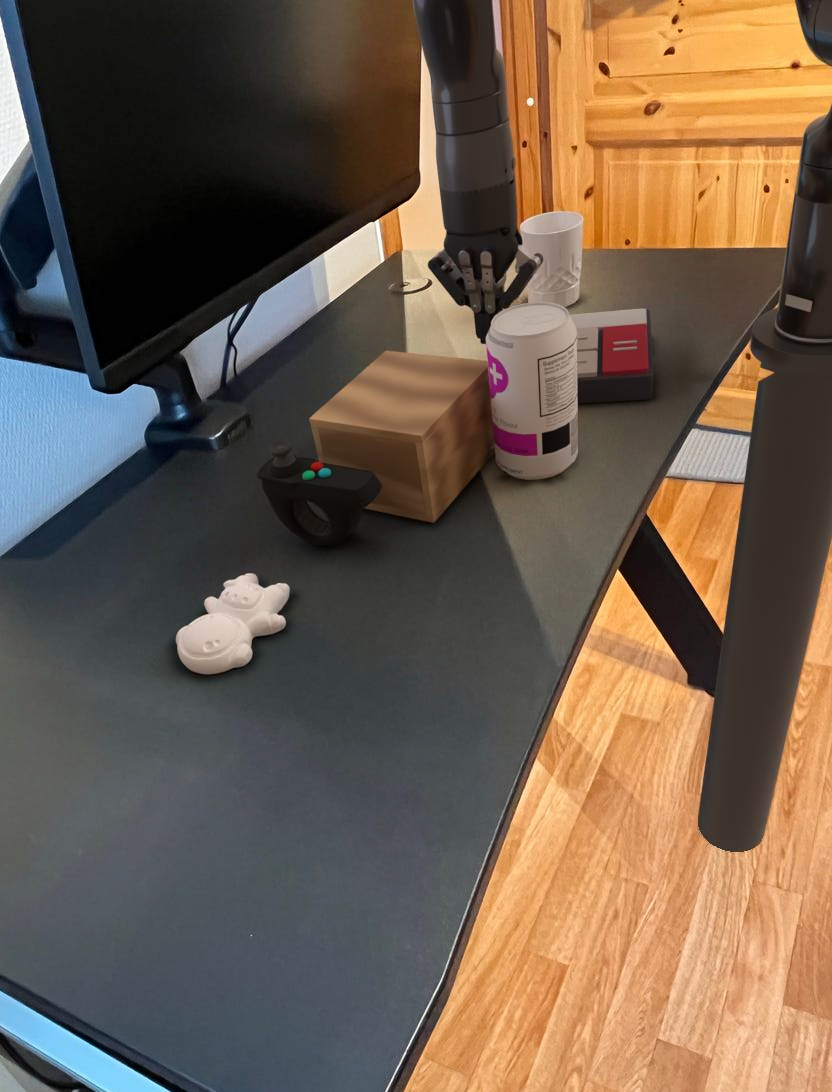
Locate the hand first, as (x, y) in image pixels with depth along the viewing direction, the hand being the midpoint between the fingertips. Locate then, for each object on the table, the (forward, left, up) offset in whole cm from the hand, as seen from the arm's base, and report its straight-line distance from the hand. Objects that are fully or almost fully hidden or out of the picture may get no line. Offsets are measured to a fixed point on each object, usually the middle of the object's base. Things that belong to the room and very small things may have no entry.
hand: (491, 341), depth 98 cm
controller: (+2, +31, -6) cm, 32 cm away
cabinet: (0, +18, -6) cm, 19 cm away
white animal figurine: (+3, +45, -6) cm, 46 cm away
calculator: (-10, -7, -6) cm, 14 cm away
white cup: (+3, -25, -6) cm, 26 cm away
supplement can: (-11, +13, -6) cm, 18 cm away
